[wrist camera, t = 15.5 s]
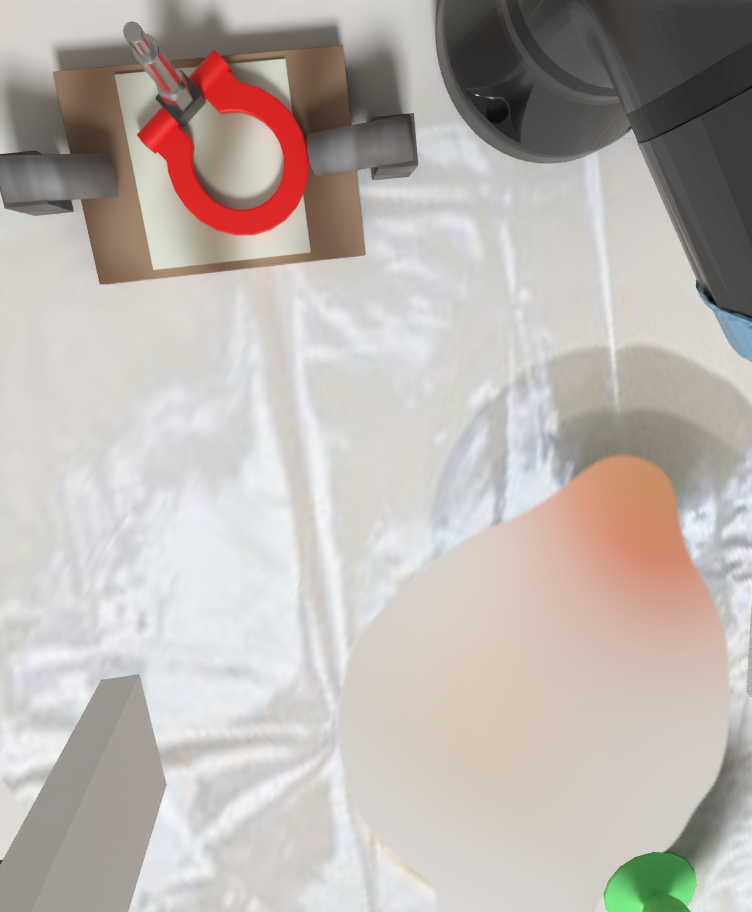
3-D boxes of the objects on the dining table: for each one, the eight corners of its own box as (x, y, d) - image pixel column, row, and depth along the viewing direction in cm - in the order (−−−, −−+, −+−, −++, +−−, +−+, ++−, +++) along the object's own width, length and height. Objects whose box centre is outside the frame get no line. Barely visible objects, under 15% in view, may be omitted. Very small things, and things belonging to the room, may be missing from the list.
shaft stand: (398, 48, 39) (411, 10, 34) (415, 249, 42) (430, 244, 37) (2, 85, 38) (-51, 51, 32) (52, 290, 41) (11, 291, 35)
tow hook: (336, 168, 39) (225, 40, 37) (354, 127, 27) (189, -69, 24) (243, 264, 40) (128, 147, 38) (220, 267, 28) (47, 94, 25)
